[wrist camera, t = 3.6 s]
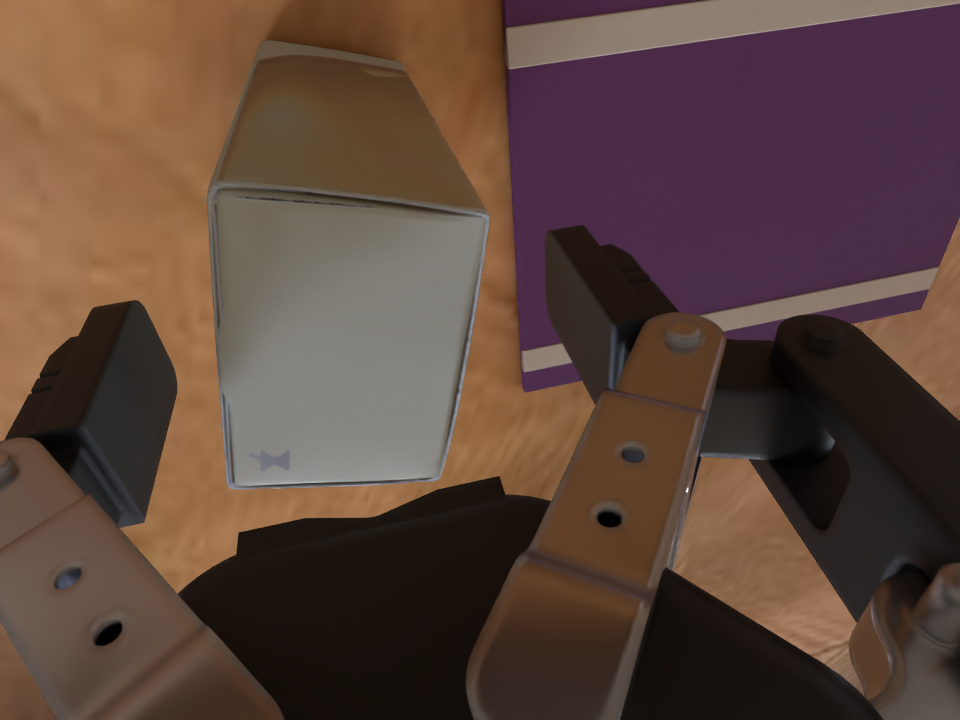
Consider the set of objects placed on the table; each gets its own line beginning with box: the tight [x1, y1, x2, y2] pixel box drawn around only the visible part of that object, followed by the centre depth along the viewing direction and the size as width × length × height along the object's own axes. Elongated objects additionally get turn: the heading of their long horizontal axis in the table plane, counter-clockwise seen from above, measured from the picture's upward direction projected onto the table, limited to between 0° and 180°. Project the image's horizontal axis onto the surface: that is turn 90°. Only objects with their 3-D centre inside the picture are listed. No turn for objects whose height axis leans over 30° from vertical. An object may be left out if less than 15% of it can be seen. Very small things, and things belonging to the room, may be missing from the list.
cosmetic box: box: [207, 40, 490, 490], centre depth 16 cm, size 6×4×12 cm
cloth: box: [502, 0, 960, 392], centre depth 25 cm, size 20×16×1 cm
